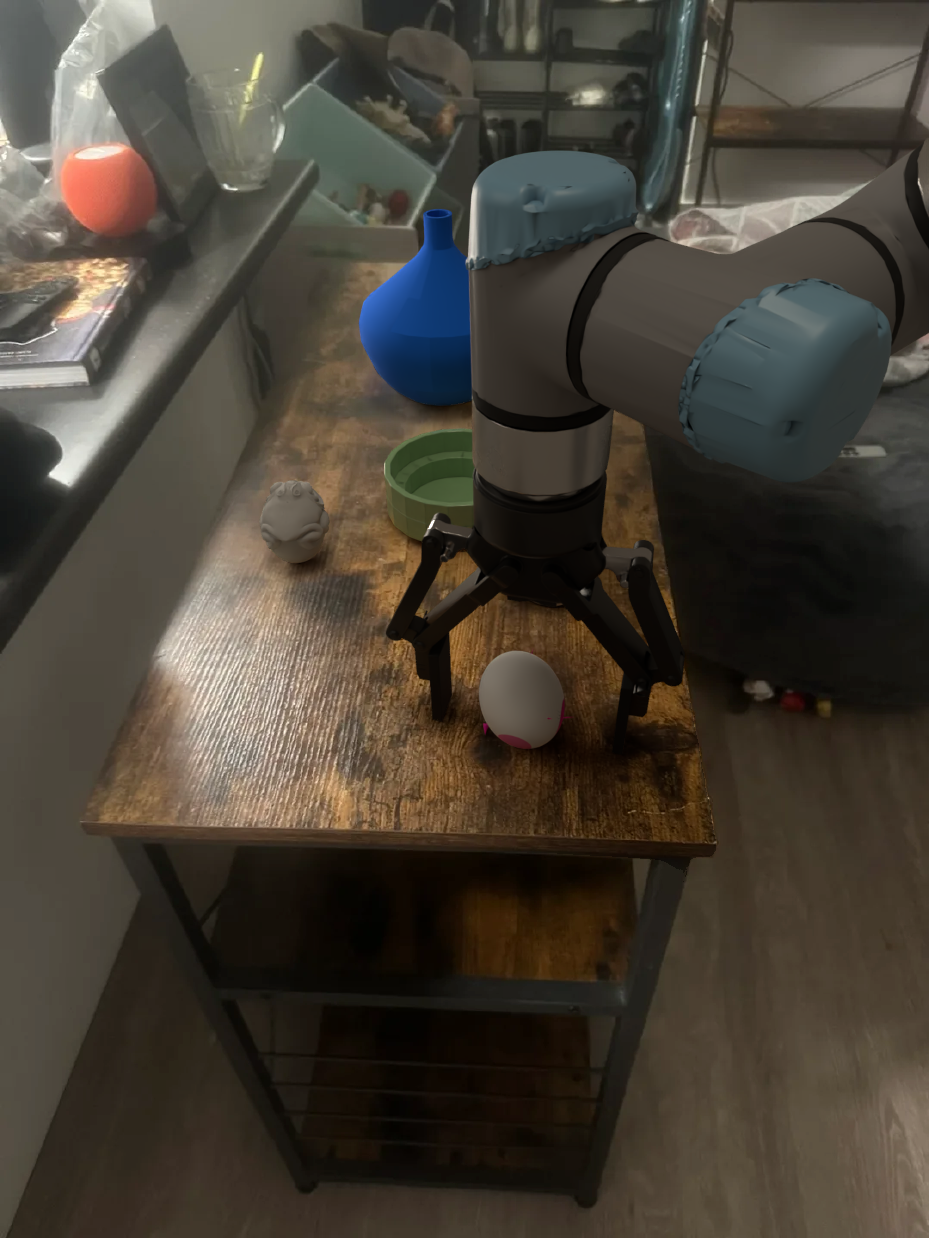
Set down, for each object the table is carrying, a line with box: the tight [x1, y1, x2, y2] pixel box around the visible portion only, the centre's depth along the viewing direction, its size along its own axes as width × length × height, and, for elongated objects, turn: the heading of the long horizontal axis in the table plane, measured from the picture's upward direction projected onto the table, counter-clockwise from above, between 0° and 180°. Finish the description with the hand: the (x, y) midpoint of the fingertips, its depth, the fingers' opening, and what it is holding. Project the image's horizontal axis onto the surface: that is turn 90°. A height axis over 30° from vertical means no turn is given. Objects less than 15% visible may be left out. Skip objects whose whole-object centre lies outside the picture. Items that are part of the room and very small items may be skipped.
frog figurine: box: [259, 479, 331, 564], centre depth 77 cm, size 6×7×7 cm
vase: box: [358, 208, 472, 407], centre depth 96 cm, size 18×18×19 cm
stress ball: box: [478, 648, 573, 750], centre depth 62 cm, size 8×8×7 cm
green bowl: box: [383, 427, 475, 543], centre depth 82 cm, size 13×13×5 cm
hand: (529, 723), depth 63 cm, fingers open, 12 cm apart
